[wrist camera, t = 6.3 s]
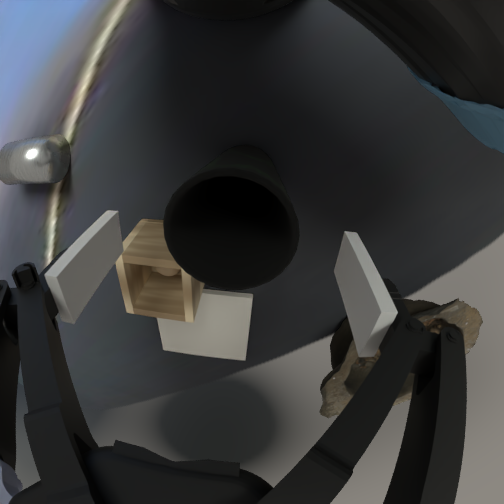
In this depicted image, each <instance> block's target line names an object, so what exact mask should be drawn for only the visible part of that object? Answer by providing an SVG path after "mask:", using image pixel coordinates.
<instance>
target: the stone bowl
mask: <svg viewBox="0 0 504 504" xmlns="http://www.w3.org/2000/svg"><path fill="white" fill-rule="evenodd" d="M403 301H404V303H405V305H406V307H407V309H408V311H409V313H410V315H411V317H414V318H416V319H418V320H420V321H421V322H422V323H423V324H424V325H425V328H426V331H429V332H433V333H437V334H439V333H440V332H441V330H442V329H443V328H444V327H452V328H454V329H456V330H458V331H459V332H460V333H461V335H462V336H463V339H464V344H465V355H466V354H468V353H469V351H470V349H471V348H472V347H473V346H474V345H475V342H476V340H477V338H478V335H479V329H480V326H481V324H482V323H483V321H482V318H481V316H480V314H479V312H478V311H477V309H475V308H471V306H469V305H468V304H466V303H464V301H462V302H460V301H459V299H456V300H454V301H451V302H449V303H447V304H443V305H441V306H440V305H438V304H435V303H433V302H428V301H424V300H417V301H413V300H409V299H403ZM330 350H331V365H332V368H333V370H332V371H331V372H330V373H329V374H328V375H327V376H326V377H325V378H324V379H323V381H322V384H321V387H320V391H321V394H322V397H323V405H322V407H321V409H320V413H321V415H323V416H325V417H327V418H330V417H331V416H334V415H339V414H340V413H341V412H342V410H343V409H344V408H345V406H346V405H347V404H348V402H349V401H350V400H351V398H352V397H353V396H354V394H355V393H356V391H357V390H358V388H359V387H360V386H361V384H362V383H363V381H364V380H365V378H366V377H367V375H368V374H369V372H370V371H371V369H372V368H373V366H374V365H375V363H376V361H377V360H378V358H379V357H380V355H381V353H380V350H379V349H378V350H377V352H376V354H375V356H374V357H359V356H358V352H357V348H356V345H355V341H354V337H353V334H352V330H351V327H350V323H349V320H348V318H346V319H345V320H344V321H343V323H342V324H341V327H340V328H339V329H338V330H337V331H336V332H335V334H334V335H333V337H332V341H331V344H330ZM414 376H415V374H413V373H409V375H408V377H407V379H406V381H405V383H404V385H403V387H402V389H401V391H400V393H399V395H398V397H397V398H396V400H395V402H394V404H393V406H394V405H397V404H400V403H402V402H405V401H408V400H410V399H411V396H412V390H413V383H414Z"/></svg>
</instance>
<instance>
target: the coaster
mask: <svg viewBox="0 0 504 504" xmlns="http://www.w3.org/2000/svg"><path fill="white" fill-rule="evenodd" d="M252 300H253V294H249V293H238V292H229V291H219V290H210V289H203V291H202V295H201V298H200V302H199V305H198V309H197V313H196V316H195V320H194V323H191V322H183V321H176V320H169V319H163V318H157V320H158V326H159V331H160V336H161V341H162V345H163V350H167V351H173V352H180V353H186V354H193V355H200V356H208V357H216V358H225V359H234V360H244V361H245V360H246V351H247V343H248V335H249V326H250V318H251V309H252Z"/></svg>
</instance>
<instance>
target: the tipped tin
mask: <svg viewBox="0 0 504 504" xmlns="http://www.w3.org/2000/svg"><path fill="white" fill-rule="evenodd" d="M69 164H70V148H69V144H68V142H67V140H66V139H65V137H64V136H62V135H59V134H56V135H49V136H42V137H36V138H30V139H25V140H19V141H14V142H10V143H7V144H6V145H5V146H4V147H3V148H2V149H1V151H0V180H1V181H2V182H3V183H5V184H7V185H14V184H36V183H57V182H60V181H61V180H62V179H63V178H64V177H65V175H66V173H67V171H68V168H69Z"/></svg>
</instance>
